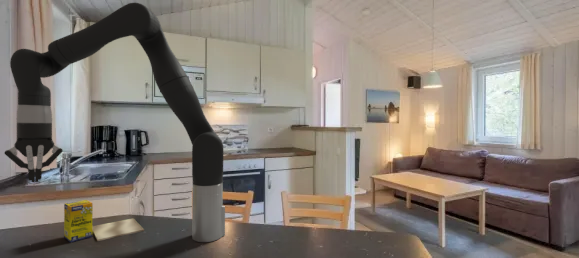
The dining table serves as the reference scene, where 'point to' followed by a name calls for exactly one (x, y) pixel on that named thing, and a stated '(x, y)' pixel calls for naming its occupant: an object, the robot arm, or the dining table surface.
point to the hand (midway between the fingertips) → (35, 181)
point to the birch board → (116, 229)
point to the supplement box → (78, 220)
